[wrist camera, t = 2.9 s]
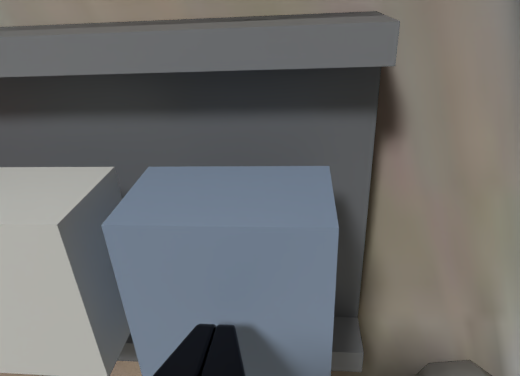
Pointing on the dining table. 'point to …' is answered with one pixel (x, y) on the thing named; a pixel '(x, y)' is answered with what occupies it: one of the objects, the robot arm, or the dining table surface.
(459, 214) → the dining table surface
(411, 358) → the dining table surface
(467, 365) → the salt shaker
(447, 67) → the dining table surface
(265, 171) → the blue-grey square block
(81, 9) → the dining table surface
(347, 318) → the panel
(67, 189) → the off-white square block
